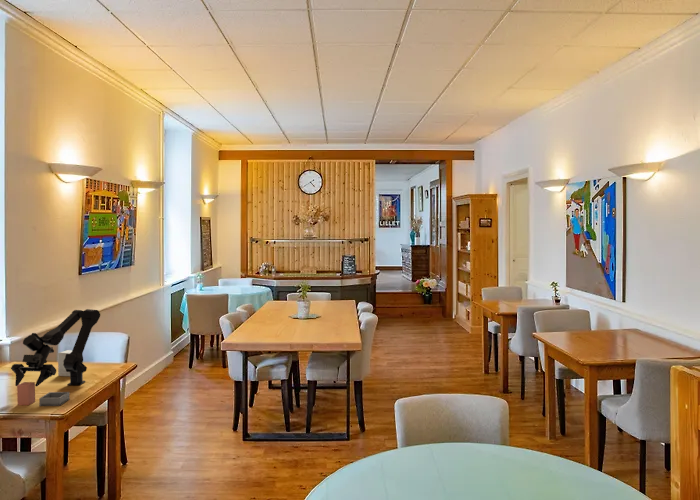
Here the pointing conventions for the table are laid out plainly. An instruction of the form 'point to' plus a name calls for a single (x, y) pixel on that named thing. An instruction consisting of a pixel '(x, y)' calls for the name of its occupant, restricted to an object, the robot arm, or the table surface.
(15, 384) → the robot arm
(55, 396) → the open box
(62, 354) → the supplement box
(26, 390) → the red block
